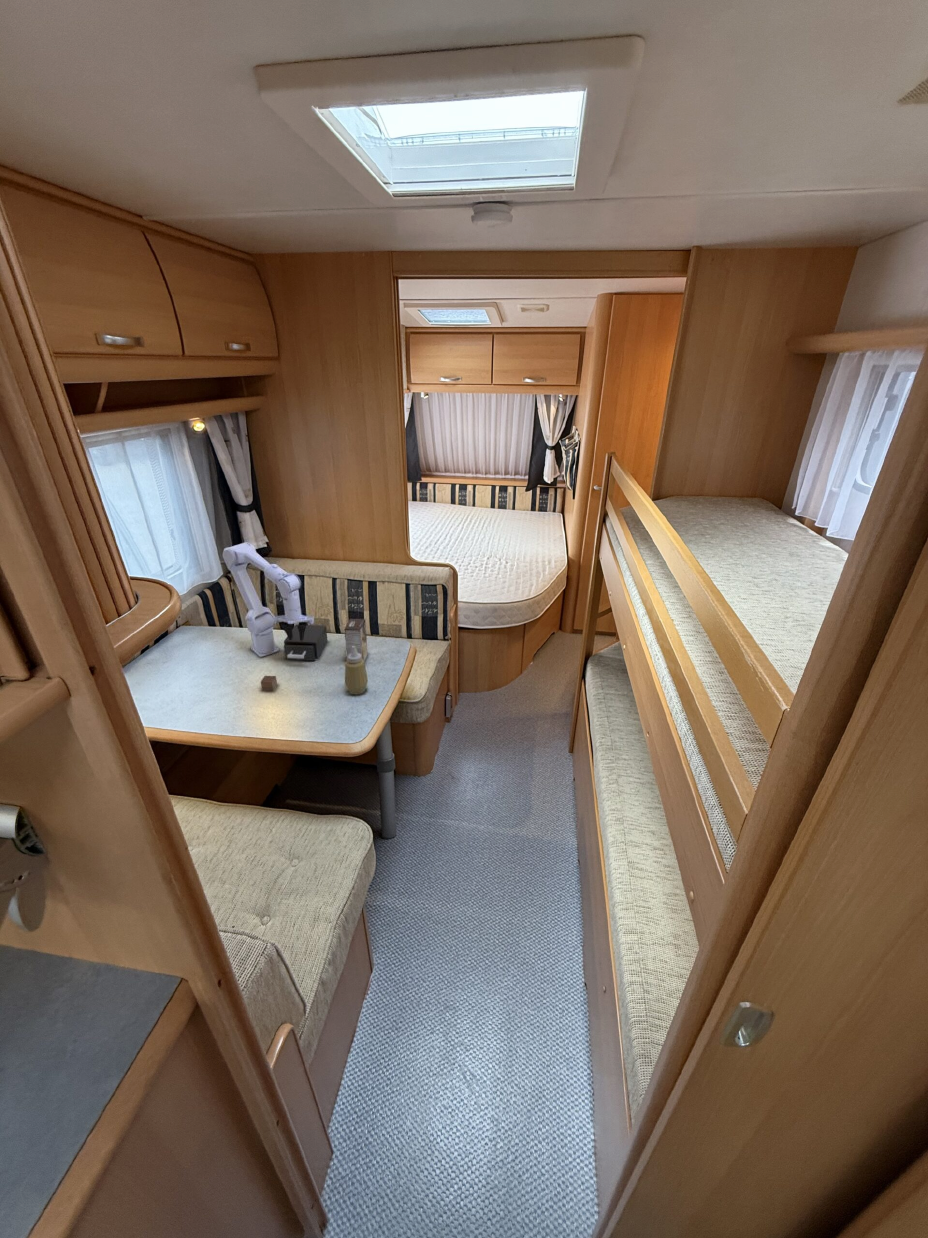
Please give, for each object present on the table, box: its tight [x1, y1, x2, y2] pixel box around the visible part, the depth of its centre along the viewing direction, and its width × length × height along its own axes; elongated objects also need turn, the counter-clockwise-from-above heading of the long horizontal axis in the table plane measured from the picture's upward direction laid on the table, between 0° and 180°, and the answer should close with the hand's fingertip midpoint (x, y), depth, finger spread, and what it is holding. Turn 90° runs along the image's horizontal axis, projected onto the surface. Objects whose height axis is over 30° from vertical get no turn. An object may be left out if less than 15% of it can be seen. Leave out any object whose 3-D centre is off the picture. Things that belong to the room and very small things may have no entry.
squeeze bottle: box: [344, 646, 369, 696], centre depth 173 cm, size 8×8×18 cm
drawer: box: [283, 643, 316, 661], centre depth 195 cm, size 18×11×6 cm, turn 179°
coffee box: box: [344, 618, 369, 663], centre depth 192 cm, size 9×6×16 cm
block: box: [260, 675, 278, 692], centre depth 175 cm, size 4×4×4 cm
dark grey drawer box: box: [283, 624, 329, 660], centre depth 200 cm, size 15×13×8 cm
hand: (296, 639), depth 188 cm, fingers open, 4 cm apart
